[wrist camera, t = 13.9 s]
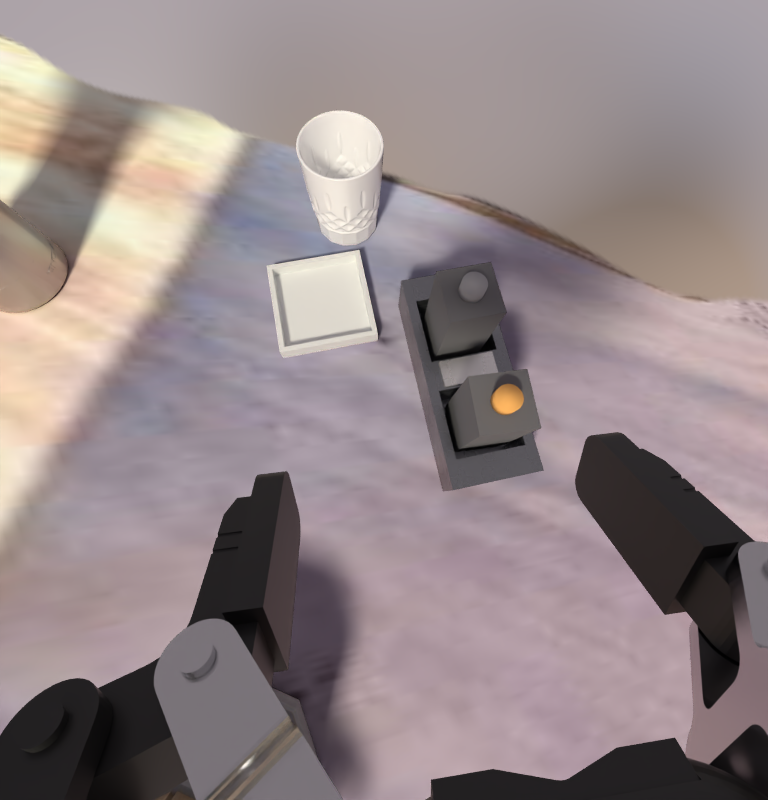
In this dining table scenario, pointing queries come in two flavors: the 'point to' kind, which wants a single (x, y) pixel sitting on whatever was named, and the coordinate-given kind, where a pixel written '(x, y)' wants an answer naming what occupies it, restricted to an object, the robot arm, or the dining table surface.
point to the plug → (491, 410)
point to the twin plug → (462, 311)
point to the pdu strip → (440, 387)
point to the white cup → (342, 173)
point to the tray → (321, 304)
